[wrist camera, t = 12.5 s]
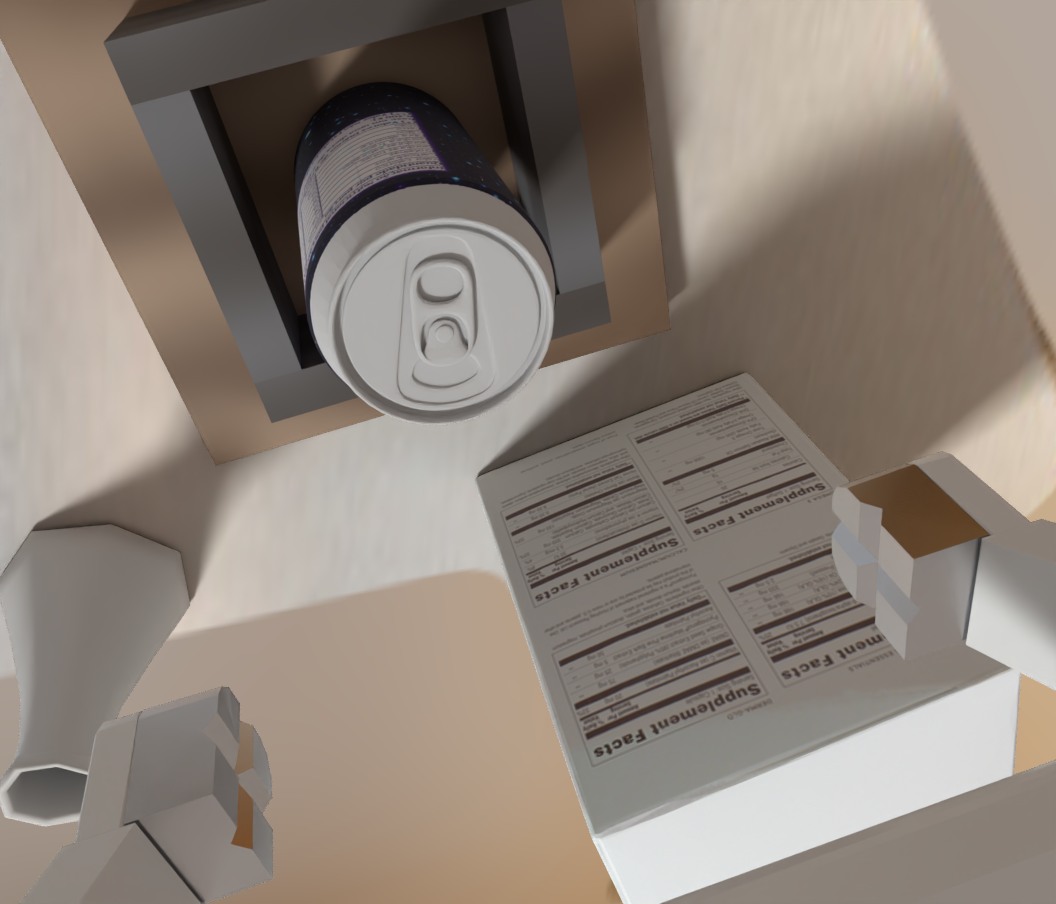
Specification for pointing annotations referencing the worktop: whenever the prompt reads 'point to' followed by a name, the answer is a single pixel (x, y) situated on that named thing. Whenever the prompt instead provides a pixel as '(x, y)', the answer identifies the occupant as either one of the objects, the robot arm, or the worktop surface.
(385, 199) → the beverage can
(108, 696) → the flask
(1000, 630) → the robot arm
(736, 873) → the supplement box
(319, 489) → the worktop surface
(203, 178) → the square holder on base
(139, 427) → the worktop surface
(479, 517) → the worktop surface
